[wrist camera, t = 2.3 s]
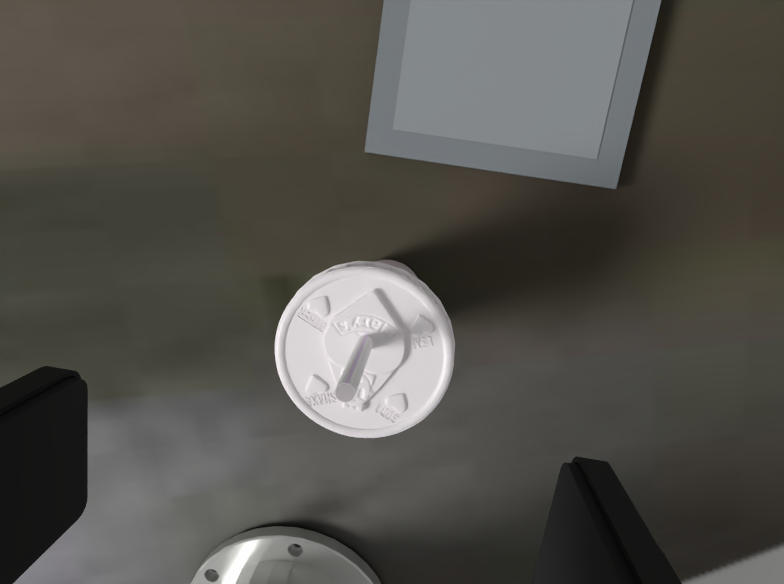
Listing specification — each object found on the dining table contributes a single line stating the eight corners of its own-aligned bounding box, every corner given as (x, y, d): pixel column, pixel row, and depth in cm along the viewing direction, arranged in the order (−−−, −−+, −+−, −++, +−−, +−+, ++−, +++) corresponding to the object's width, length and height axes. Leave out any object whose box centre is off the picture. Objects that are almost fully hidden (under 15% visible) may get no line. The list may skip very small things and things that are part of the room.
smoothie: (459, 246, 26) (488, 321, 13) (434, 362, 28) (436, 540, 14) (336, 222, 27) (237, 271, 13) (318, 339, 28) (211, 493, 14)
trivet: (609, 188, 25) (616, 189, 24) (366, 152, 26) (364, 151, 25) (674, -89, 23) (686, -102, 21) (403, -124, 23) (401, -138, 22)
